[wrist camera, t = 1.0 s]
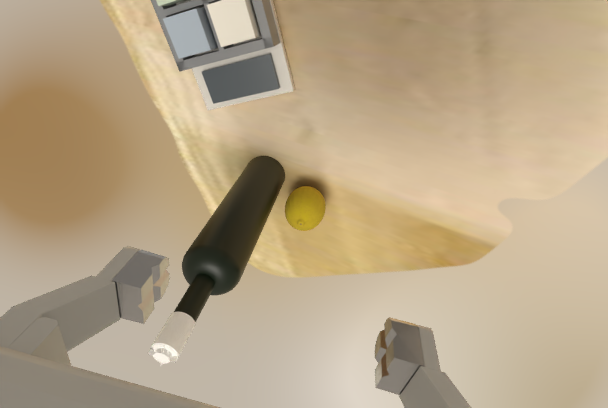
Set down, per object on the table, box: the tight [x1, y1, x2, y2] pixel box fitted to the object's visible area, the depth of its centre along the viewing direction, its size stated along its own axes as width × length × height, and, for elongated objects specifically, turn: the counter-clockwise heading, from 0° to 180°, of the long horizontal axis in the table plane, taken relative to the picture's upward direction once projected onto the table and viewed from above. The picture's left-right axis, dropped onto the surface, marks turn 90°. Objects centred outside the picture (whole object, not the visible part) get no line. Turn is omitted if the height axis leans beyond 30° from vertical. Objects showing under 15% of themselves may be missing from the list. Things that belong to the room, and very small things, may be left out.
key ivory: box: [207, 0, 261, 47], centre depth 36 cm, size 4×4×2 cm
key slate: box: [163, 8, 218, 59], centre depth 37 cm, size 4×4×2 cm
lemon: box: [285, 186, 325, 231], centre depth 47 cm, size 6×6×8 cm
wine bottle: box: [148, 156, 285, 365], centre depth 37 cm, size 6×6×30 cm
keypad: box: [151, 0, 295, 110], centre depth 38 cm, size 18×12×4 cm, turn 14°
